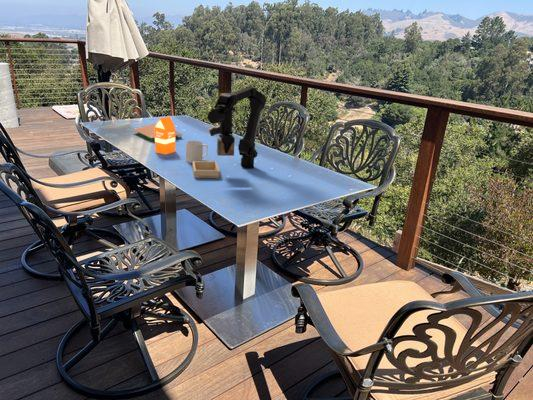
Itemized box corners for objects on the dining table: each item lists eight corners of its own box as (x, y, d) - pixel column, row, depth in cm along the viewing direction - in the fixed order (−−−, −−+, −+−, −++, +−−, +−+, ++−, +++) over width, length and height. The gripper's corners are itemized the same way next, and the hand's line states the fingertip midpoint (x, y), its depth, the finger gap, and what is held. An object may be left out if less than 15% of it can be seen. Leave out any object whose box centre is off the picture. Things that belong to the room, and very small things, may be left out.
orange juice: (155, 151, 224) (154, 117, 217) (165, 148, 232) (164, 115, 224) (165, 154, 221) (164, 119, 214) (175, 151, 229) (175, 117, 221)
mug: (189, 165, 206) (190, 145, 202) (183, 161, 213) (183, 141, 209) (210, 163, 213) (210, 144, 208) (203, 159, 219) (204, 139, 215)
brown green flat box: (153, 144, 240) (152, 131, 237) (130, 132, 262) (129, 120, 259) (185, 140, 255) (185, 128, 252) (160, 129, 277) (160, 118, 274)
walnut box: (232, 152, 197) (233, 138, 194) (233, 155, 193) (234, 141, 190) (217, 152, 195) (217, 138, 192) (217, 155, 191) (218, 141, 188)
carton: (215, 168, 206) (216, 160, 204) (219, 181, 189) (220, 172, 187) (192, 168, 203) (192, 160, 201) (194, 181, 186) (194, 172, 184)
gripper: (208, 116, 194) (208, 146, 200) (211, 124, 177) (210, 157, 184) (230, 116, 196) (229, 146, 203) (235, 125, 180) (234, 157, 186)
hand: (225, 151), depth 194 cm, fingers closed on walnut box, 5 cm apart
